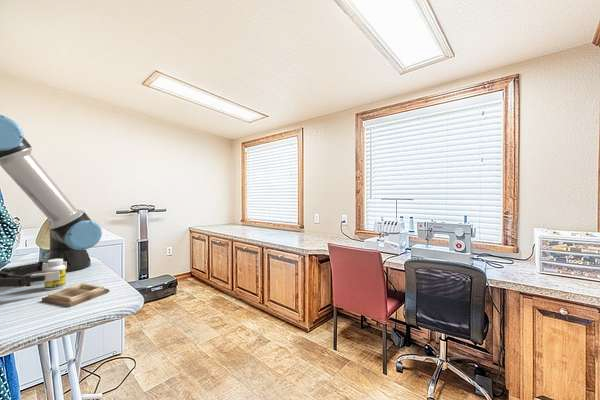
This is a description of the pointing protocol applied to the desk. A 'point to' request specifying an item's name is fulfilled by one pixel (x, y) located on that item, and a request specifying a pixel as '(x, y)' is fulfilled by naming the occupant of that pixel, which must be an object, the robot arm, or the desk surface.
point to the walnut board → (75, 295)
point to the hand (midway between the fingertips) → (63, 269)
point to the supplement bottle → (56, 266)
